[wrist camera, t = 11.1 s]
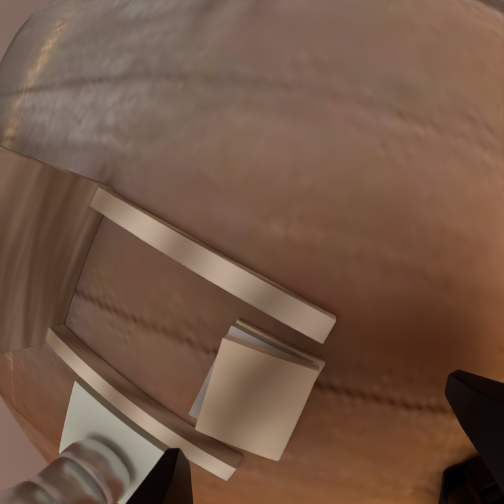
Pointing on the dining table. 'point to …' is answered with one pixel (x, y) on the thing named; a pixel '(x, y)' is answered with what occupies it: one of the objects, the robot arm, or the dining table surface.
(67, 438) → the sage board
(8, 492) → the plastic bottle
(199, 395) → the offcut stack
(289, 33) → the dining table surface
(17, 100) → the dining table surface
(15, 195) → the birch rack
